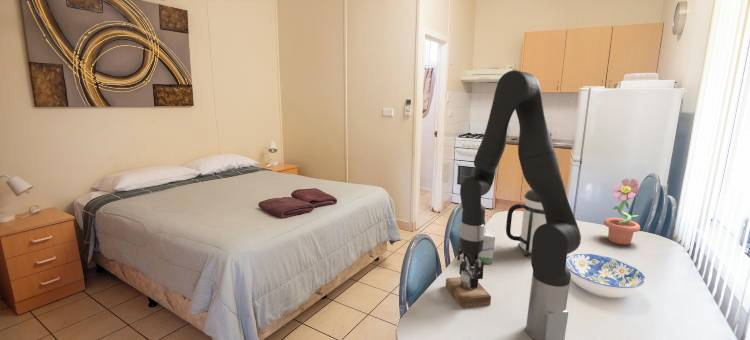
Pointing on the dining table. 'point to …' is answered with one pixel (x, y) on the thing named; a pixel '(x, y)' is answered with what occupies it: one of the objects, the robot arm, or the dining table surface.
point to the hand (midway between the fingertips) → (468, 281)
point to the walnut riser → (467, 294)
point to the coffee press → (527, 221)
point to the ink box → (487, 247)
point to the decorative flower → (623, 214)
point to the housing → (466, 280)
